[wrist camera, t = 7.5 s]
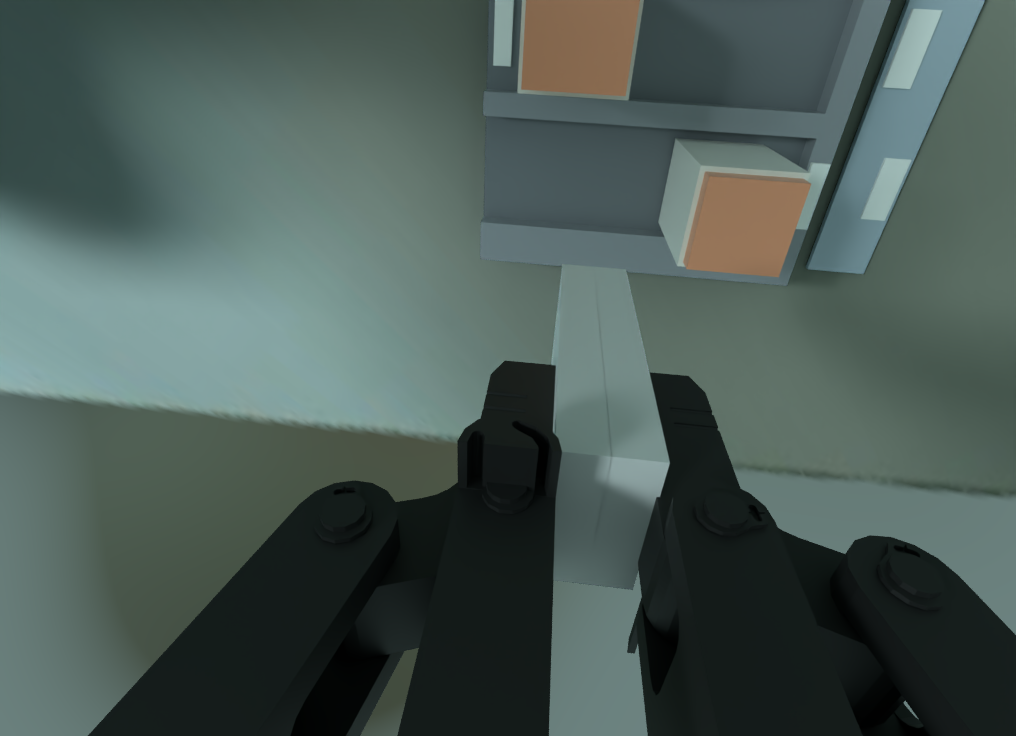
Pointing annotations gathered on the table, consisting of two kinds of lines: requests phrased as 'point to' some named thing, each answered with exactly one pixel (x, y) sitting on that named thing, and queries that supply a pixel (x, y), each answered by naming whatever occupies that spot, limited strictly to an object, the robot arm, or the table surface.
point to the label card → (892, 129)
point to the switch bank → (665, 125)
